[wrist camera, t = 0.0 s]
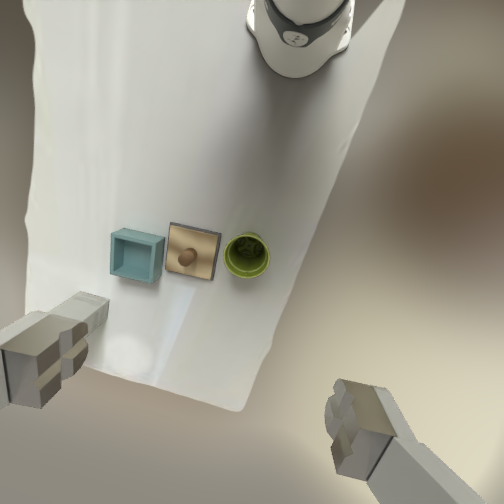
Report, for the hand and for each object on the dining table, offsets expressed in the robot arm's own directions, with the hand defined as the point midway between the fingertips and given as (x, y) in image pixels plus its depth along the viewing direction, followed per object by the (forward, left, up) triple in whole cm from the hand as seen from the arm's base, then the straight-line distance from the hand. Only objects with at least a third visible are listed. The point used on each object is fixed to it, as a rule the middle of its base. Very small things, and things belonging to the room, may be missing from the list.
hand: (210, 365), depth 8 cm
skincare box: (+36, -37, -48) cm, 71 cm away
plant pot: (+10, 0, -48) cm, 49 cm away
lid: (+15, -13, -47) cm, 51 cm away
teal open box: (+18, -25, -48) cm, 57 cm away
